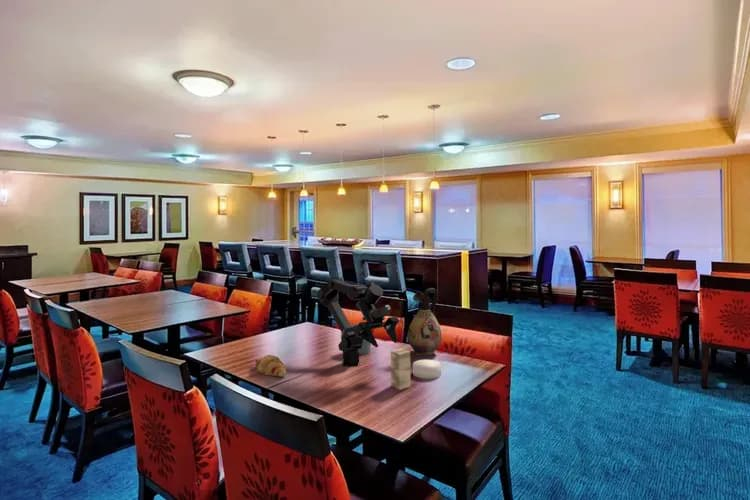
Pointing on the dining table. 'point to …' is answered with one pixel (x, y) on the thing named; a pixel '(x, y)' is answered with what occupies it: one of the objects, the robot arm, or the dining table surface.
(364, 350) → the grey cup
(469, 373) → the dining table surface
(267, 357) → the croissant
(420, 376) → the cream plinth
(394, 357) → the maple block
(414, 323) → the ceramic jug
